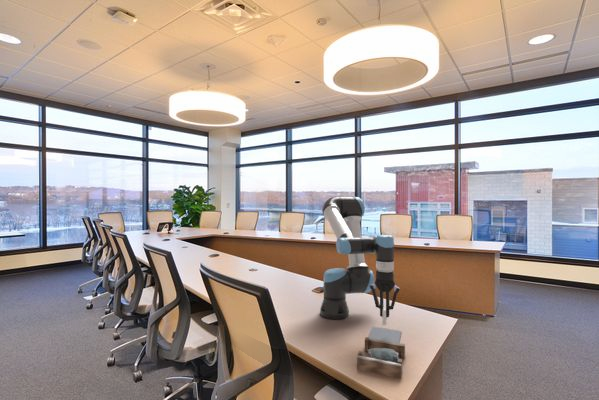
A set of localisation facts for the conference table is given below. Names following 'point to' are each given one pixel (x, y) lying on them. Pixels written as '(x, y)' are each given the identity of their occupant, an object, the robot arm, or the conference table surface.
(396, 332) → the slate mat
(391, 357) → the packaged food
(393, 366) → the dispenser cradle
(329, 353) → the conference table surface
